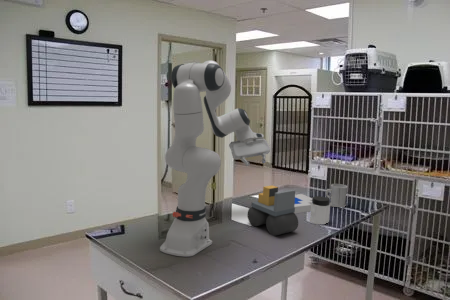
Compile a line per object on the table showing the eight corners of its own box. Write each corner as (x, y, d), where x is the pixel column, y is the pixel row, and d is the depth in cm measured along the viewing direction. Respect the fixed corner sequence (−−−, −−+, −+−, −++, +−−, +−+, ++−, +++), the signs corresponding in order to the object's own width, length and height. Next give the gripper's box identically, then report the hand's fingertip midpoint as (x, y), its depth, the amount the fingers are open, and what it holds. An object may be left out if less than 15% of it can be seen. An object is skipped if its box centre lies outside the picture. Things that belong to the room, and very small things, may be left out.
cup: (334, 209, 195) (336, 188, 193) (323, 204, 203) (325, 184, 202) (349, 207, 199) (351, 186, 198) (338, 203, 208) (339, 183, 206)
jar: (307, 219, 177) (308, 196, 175) (321, 218, 179) (323, 195, 177) (316, 226, 168) (318, 201, 166) (331, 224, 171) (333, 200, 169)
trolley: (298, 233, 158) (301, 191, 155) (279, 238, 151) (281, 195, 148) (265, 218, 175) (267, 181, 173) (246, 223, 168) (248, 184, 166)
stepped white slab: (324, 203, 193) (281, 208, 181) (323, 210, 194) (280, 216, 182) (293, 190, 218) (254, 194, 206) (293, 196, 219) (253, 200, 207)
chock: (258, 201, 166) (258, 185, 164) (266, 200, 169) (267, 183, 168) (268, 205, 160) (269, 188, 159) (277, 204, 163) (278, 187, 162)
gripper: (230, 139, 170) (240, 164, 165) (265, 133, 179) (276, 157, 174) (225, 145, 176) (235, 170, 170) (260, 140, 185) (270, 163, 179)
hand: (256, 163), depth 172 cm, fingers open, 8 cm apart
